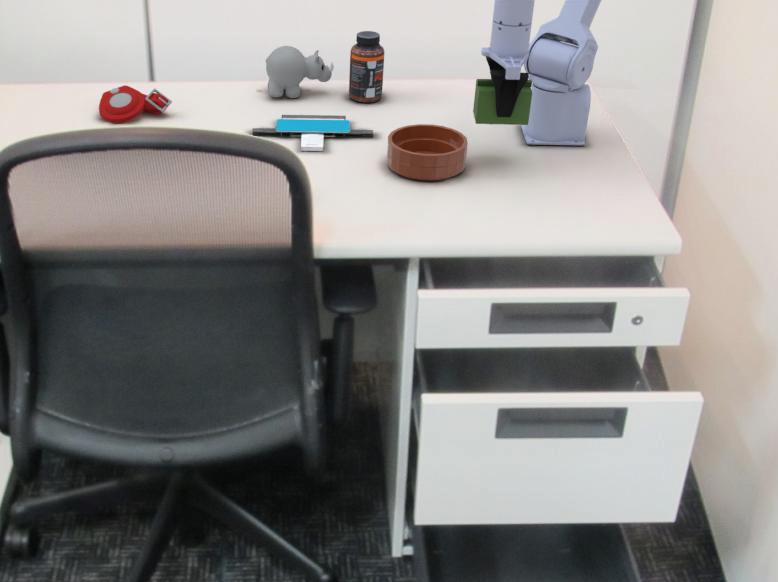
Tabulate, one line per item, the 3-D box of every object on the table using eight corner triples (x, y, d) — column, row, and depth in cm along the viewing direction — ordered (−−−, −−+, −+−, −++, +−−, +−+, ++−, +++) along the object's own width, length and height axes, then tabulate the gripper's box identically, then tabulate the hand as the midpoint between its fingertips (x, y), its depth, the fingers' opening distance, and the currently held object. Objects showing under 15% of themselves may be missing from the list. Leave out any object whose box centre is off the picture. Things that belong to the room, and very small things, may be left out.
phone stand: (250, 150, 180) (249, 140, 179) (254, 121, 189) (254, 112, 188) (374, 152, 180) (374, 142, 179) (372, 123, 189) (372, 114, 188)
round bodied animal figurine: (334, 101, 197) (335, 53, 192) (266, 101, 197) (265, 53, 192) (331, 86, 203) (333, 40, 198) (265, 87, 203) (265, 40, 198)
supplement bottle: (379, 105, 196) (382, 40, 189) (346, 102, 197) (348, 38, 190) (384, 93, 201) (387, 30, 194) (351, 90, 202) (353, 27, 195)
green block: (524, 112, 175) (529, 75, 171) (528, 125, 171) (533, 86, 167) (472, 111, 175) (476, 74, 172) (475, 123, 171) (479, 85, 168)
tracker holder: (104, 121, 186) (88, 88, 192) (111, 142, 190) (95, 108, 195) (172, 96, 188) (154, 64, 194) (177, 117, 191) (159, 85, 197)
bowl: (461, 151, 180) (463, 124, 177) (467, 183, 170) (470, 156, 168) (385, 150, 180) (386, 123, 178) (387, 182, 170) (389, 154, 168)
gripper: (480, 5, 170) (471, 91, 178) (489, 35, 159) (479, 126, 167) (527, 6, 170) (516, 92, 178) (539, 36, 158) (527, 128, 166)
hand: (501, 109), depth 172 cm, fingers closed on green block, 5 cm apart
